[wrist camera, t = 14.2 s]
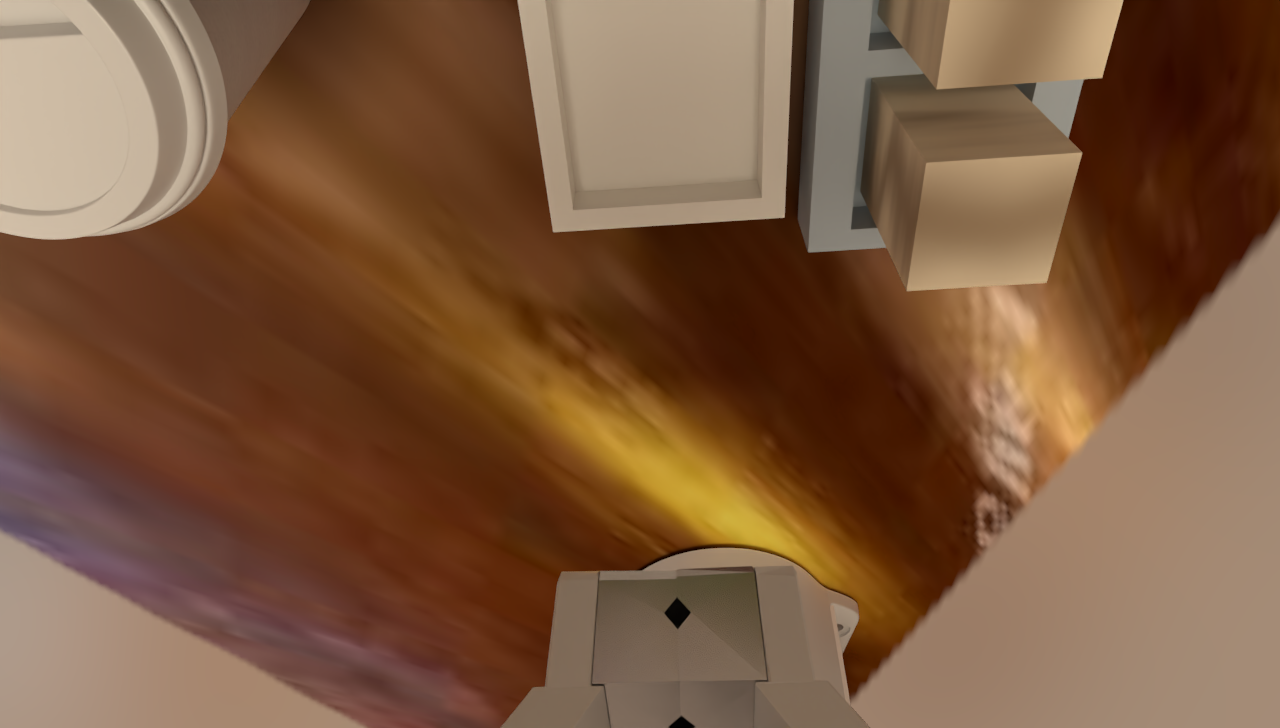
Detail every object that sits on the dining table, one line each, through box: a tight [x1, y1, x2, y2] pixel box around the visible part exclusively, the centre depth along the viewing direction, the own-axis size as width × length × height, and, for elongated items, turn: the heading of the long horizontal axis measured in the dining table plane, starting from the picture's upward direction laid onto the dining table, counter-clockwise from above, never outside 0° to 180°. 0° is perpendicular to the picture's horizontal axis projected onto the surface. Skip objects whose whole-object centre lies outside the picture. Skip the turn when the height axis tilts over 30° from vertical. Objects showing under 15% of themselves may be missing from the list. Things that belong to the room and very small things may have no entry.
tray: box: [518, 0, 794, 232], centre depth 33 cm, size 11×10×2 cm
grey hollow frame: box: [798, 0, 1084, 252], centre depth 32 cm, size 16×10×3 cm, turn 4°
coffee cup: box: [0, 0, 310, 239], centre depth 25 cm, size 10×10×15 cm
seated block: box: [860, 74, 1082, 291], centre depth 32 cm, size 5×5×8 cm
